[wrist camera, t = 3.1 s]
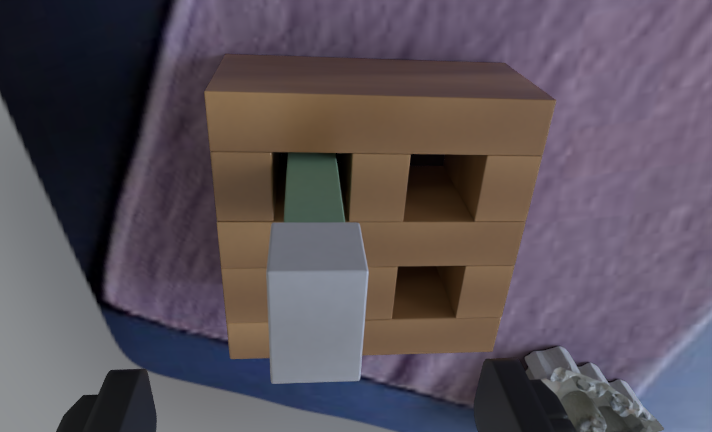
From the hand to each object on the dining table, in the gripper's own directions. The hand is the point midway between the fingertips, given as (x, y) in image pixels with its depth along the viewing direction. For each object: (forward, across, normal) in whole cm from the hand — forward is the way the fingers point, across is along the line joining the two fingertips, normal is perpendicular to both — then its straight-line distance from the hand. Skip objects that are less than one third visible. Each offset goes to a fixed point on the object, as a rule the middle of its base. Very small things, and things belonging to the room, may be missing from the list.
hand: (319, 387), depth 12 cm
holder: (+16, -3, +3) cm, 17 cm away
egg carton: (+17, -19, +20) cm, 32 cm away
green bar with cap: (+16, 0, 0) cm, 16 cm away
